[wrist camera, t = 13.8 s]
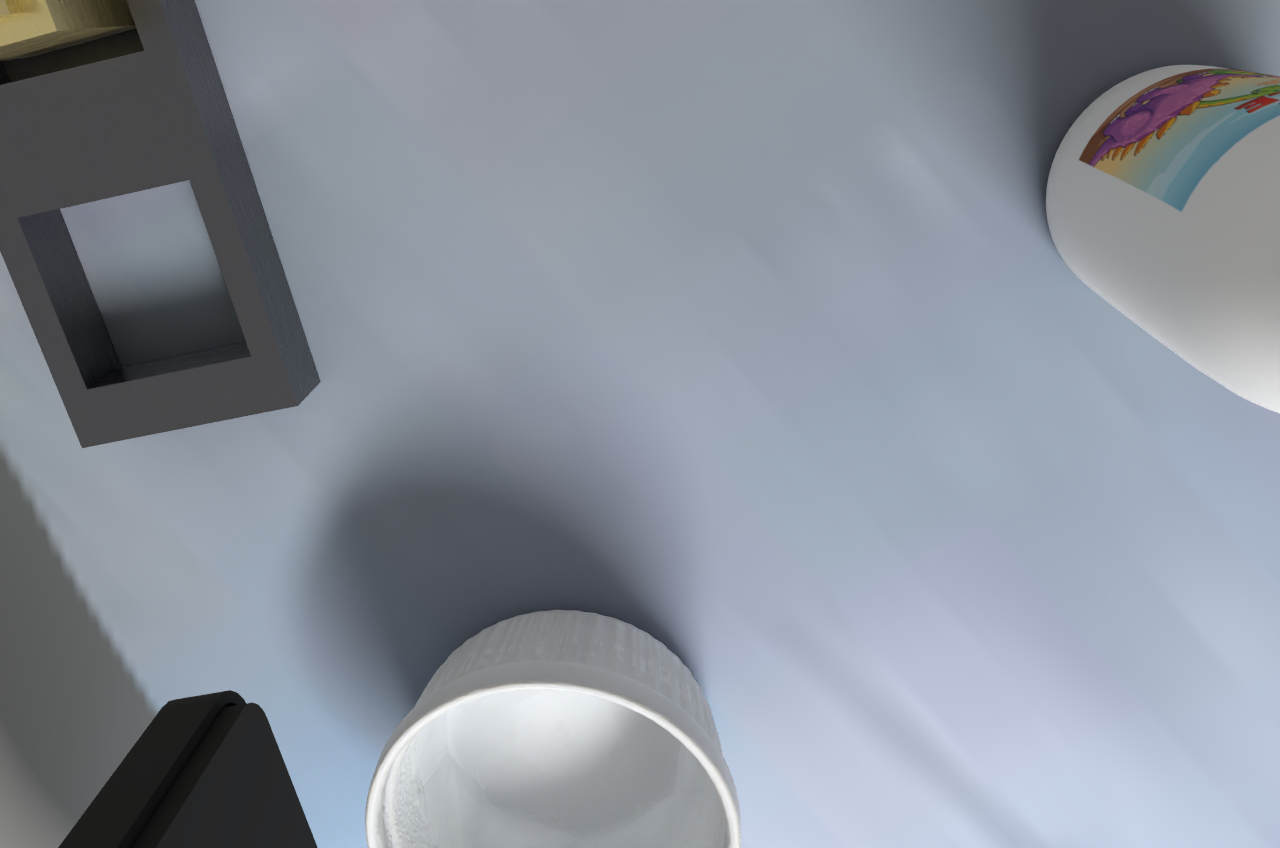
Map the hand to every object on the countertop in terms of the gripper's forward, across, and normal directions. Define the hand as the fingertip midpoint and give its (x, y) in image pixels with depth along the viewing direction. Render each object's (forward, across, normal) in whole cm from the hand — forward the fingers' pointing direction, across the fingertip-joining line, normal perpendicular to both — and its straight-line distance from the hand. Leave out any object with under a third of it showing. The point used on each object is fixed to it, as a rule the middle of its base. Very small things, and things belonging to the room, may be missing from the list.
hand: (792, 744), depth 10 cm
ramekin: (+31, +10, +20) cm, 38 cm away
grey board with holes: (+30, +20, -6) cm, 37 cm away
